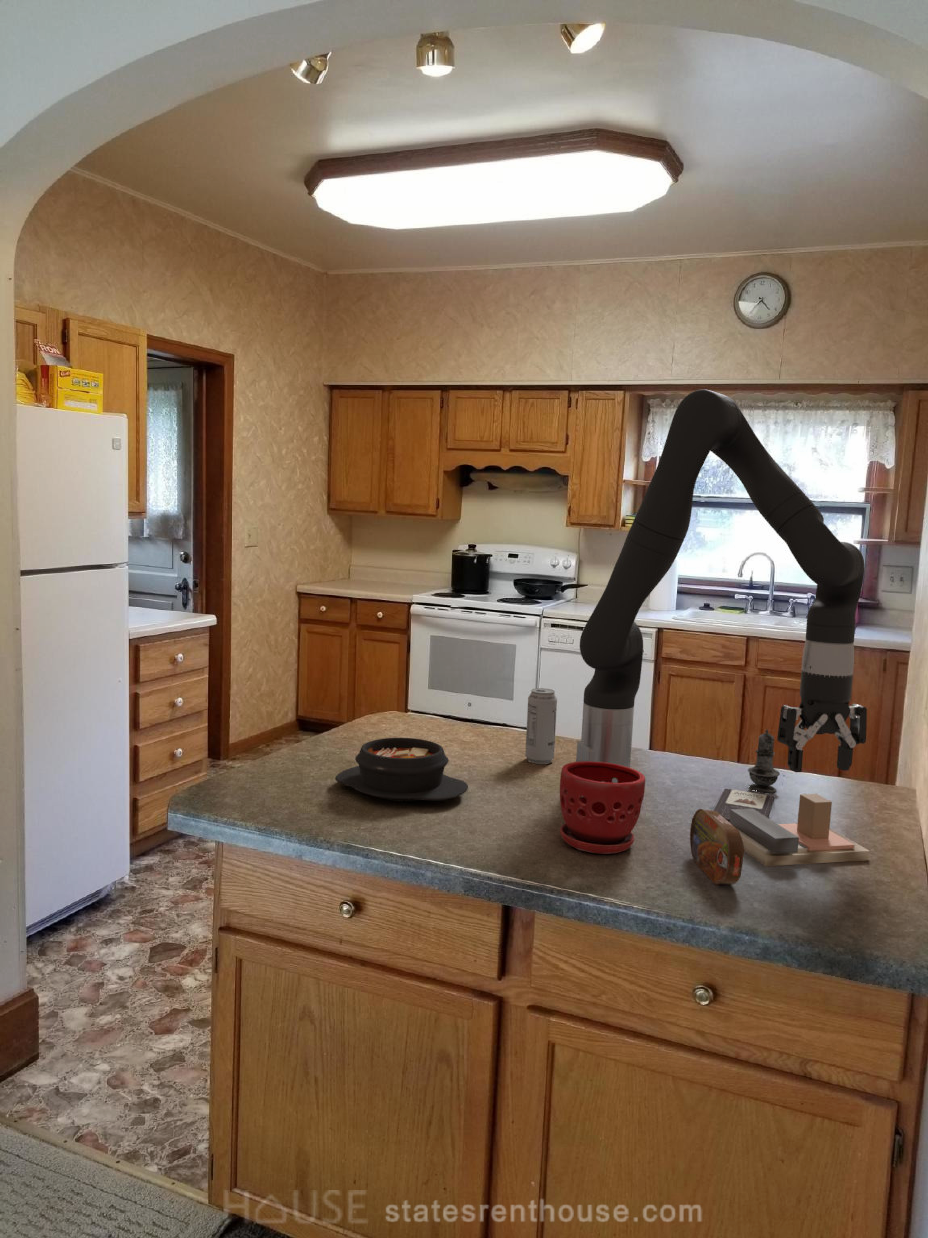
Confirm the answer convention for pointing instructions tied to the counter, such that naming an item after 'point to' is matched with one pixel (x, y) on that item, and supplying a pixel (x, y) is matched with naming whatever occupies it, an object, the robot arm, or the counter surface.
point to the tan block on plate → (816, 825)
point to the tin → (716, 847)
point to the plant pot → (600, 805)
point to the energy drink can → (541, 726)
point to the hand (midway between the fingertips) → (819, 770)
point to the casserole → (402, 771)
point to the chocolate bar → (743, 802)
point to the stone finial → (764, 766)
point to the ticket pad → (809, 855)
